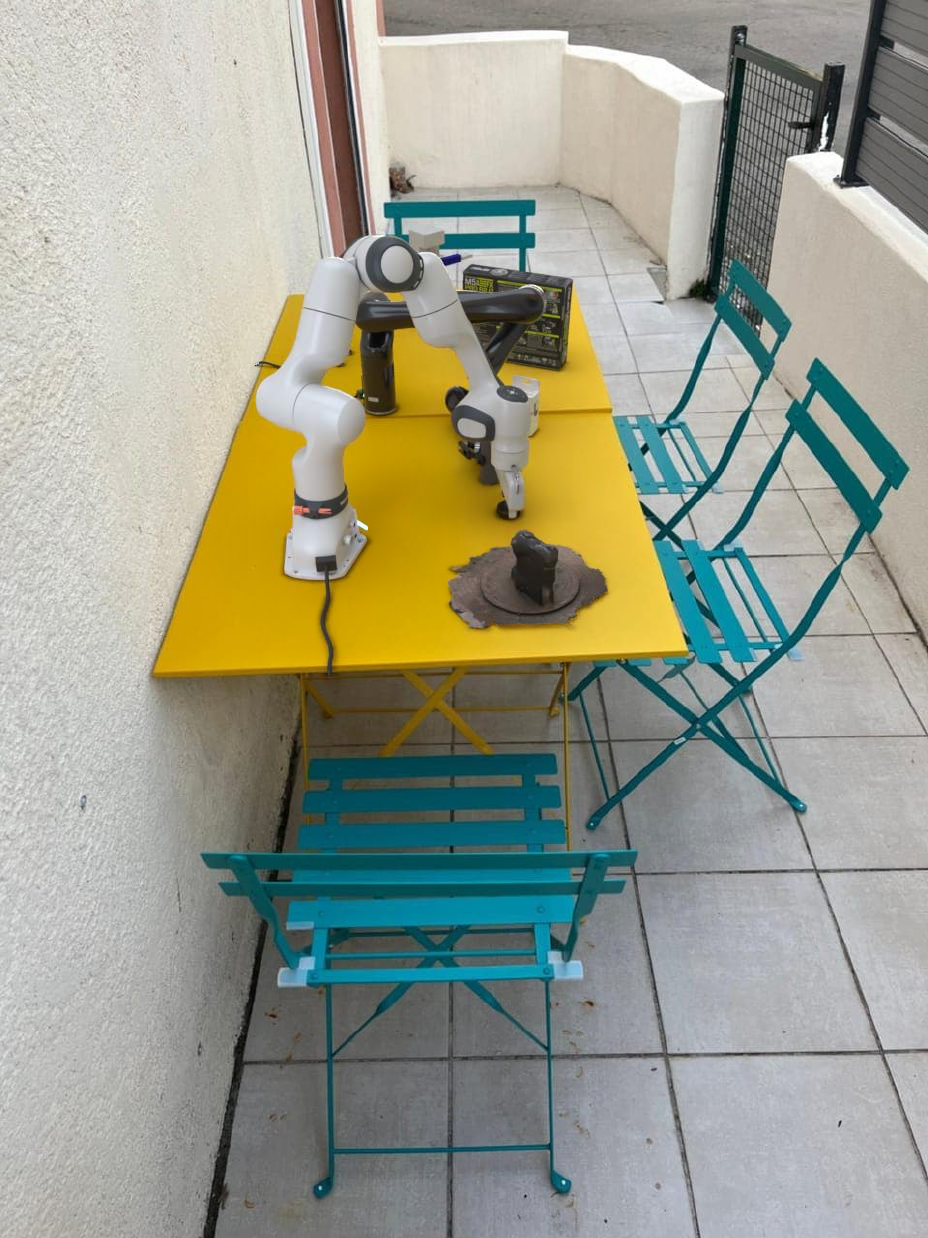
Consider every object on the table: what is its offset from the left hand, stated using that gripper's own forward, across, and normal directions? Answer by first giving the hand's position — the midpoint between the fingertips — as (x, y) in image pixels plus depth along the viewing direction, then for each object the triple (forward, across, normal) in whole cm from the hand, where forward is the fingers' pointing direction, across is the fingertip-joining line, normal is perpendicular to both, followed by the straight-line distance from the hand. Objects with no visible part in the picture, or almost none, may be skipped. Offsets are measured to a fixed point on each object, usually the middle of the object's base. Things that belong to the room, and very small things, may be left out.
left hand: (508, 505), depth 214 cm
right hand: (-5, +13, +2) cm, 14 cm away
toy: (+2, +123, +4) cm, 123 cm away
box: (+2, +87, -19) cm, 89 cm away
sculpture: (+2, -29, +2) cm, 29 cm away
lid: (0, 0, 0) cm, 0 cm away
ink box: (+2, +41, -11) cm, 42 cm away
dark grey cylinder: (+2, +16, +2) cm, 16 cm away
